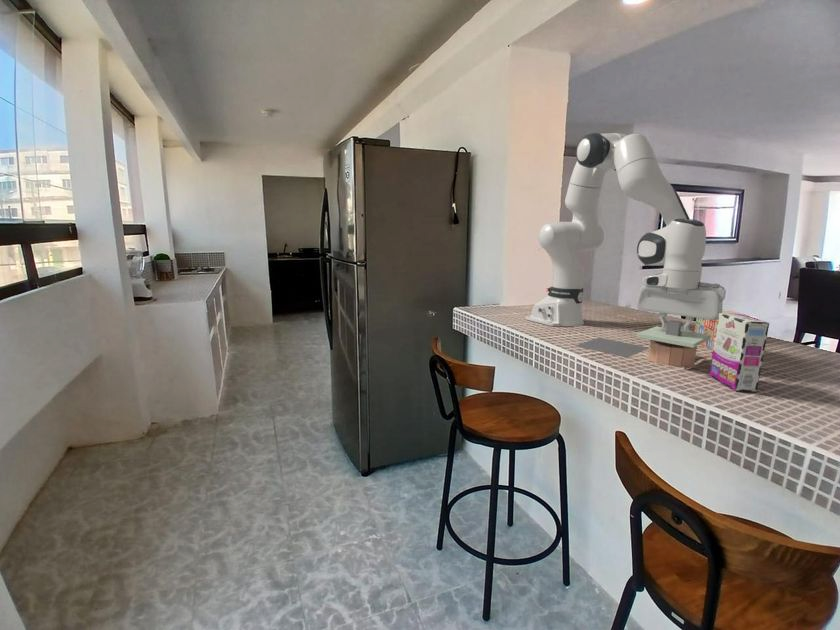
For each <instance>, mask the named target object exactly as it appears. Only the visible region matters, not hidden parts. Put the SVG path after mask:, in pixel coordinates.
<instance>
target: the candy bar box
mask: <svg viewBox="0 0 840 630" xmlns="http://www.w3.org/2000/svg"><path fill="white" fill-rule="evenodd" d="M769 327H770V322H767V321H764V320H761V319H758V318H753V317H751V316H750V317H747V316H744V315H740V314H732V313H719V317H718V323H717V329H716V335H715V342H714V348H713V349H712V354H711V361H710V368H709V377H711V378H712V379H714V380H715V381H718V383H721V384H723V385H724V384H725V386H726V387H728V388H729V387H730V388H729V389H732V390H733V391H734V392H743V391H744V393H745V392H746V393H756V392H758V387H759V382H760V381H759V380H760V376H761V370H762V364H763V359H764V356H765V355H764V354H765V348H766V344H767V339H768V332H769Z"/></svg>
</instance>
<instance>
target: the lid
mask: <svg viewBox="0 0 840 630" xmlns="http://www.w3.org/2000/svg"><path fill="white" fill-rule="evenodd" d="M681 325H684V322H683V321H679V320H669V321H667V327H666V329H662V326H657V325H656V326H653V327H650V328H647V329H645V330H642V331H639V332H636V334H635V335H636V338H639V339H643V340H644V339H645V340H649V341H650V340H655V341H660V342H665V343H670V344H676V345H681V346H686V347H691V348H694V347H696V346H697V347H698V346H699V345H701V344H702V343H703V342H705V341H707V340H709V339H710V338H711V335H706V334H700V333H695V331H693V332H688V331H687V332H686V333H683V332H679V330H680V326H681Z"/></svg>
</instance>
